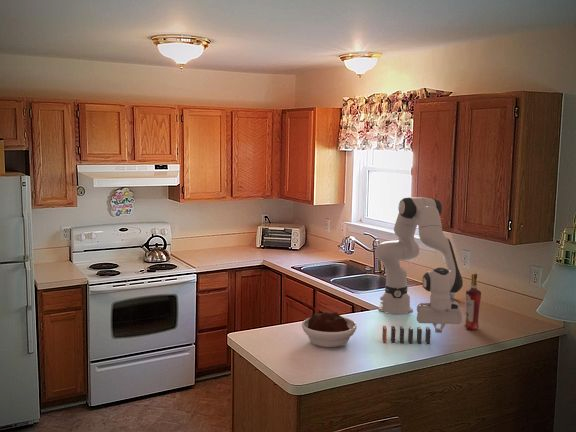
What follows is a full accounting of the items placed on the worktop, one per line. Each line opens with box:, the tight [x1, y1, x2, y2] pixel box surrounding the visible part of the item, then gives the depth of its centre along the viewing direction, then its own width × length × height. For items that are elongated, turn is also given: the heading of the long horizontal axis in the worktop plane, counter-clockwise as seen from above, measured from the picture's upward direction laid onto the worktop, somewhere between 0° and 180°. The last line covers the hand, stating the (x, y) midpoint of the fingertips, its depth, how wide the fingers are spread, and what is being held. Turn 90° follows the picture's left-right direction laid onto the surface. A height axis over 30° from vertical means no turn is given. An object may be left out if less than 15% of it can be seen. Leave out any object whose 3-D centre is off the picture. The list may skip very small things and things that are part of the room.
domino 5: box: [416, 326, 423, 345], centre depth 274 cm, size 4×1×7 cm, turn 178°
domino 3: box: [399, 325, 405, 345], centre depth 275 cm, size 4×1×7 cm, turn 178°
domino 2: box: [390, 325, 397, 344], centre depth 275 cm, size 4×1×7 cm, turn 178°
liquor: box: [464, 272, 482, 331], centre depth 294 cm, size 7×7×28 cm
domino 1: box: [381, 325, 388, 344], centre depth 275 cm, size 4×1×7 cm, turn 178°
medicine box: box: [449, 292, 456, 300], centre depth 349 cm, size 8×4×9 cm, turn 62°
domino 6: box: [424, 326, 432, 345], centre depth 274 cm, size 4×1×7 cm, turn 178°
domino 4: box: [407, 325, 414, 345], centre depth 275 cm, size 4×1×7 cm, turn 178°
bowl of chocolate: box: [301, 311, 357, 348], centre depth 272 cm, size 25×25×15 cm
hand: (438, 332), depth 274 cm, fingers closed
